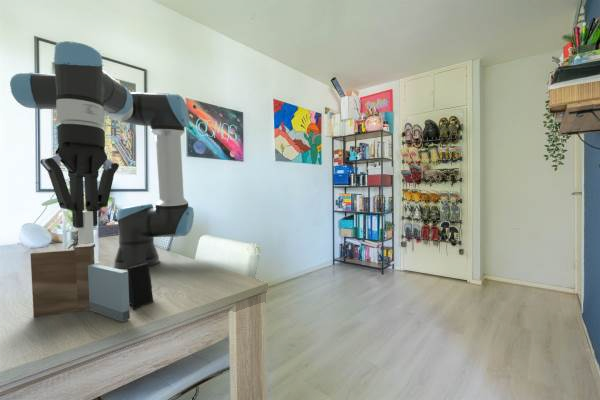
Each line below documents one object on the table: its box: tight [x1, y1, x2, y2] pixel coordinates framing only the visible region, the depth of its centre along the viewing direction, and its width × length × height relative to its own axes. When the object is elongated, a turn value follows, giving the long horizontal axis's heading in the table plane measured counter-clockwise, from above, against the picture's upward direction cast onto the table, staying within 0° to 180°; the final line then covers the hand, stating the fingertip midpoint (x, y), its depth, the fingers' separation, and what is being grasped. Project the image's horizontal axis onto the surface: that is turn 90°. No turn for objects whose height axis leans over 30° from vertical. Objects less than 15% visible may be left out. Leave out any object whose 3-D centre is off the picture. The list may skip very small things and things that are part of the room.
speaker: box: [127, 263, 154, 311], centre depth 73 cm, size 8×6×10 cm
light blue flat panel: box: [88, 263, 131, 323], centre depth 65 cm, size 13×2×11 cm, turn 63°
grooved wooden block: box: [30, 243, 96, 318], centre depth 68 cm, size 3×12×16 cm, turn 113°
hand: (86, 242), depth 57 cm, fingers closed
